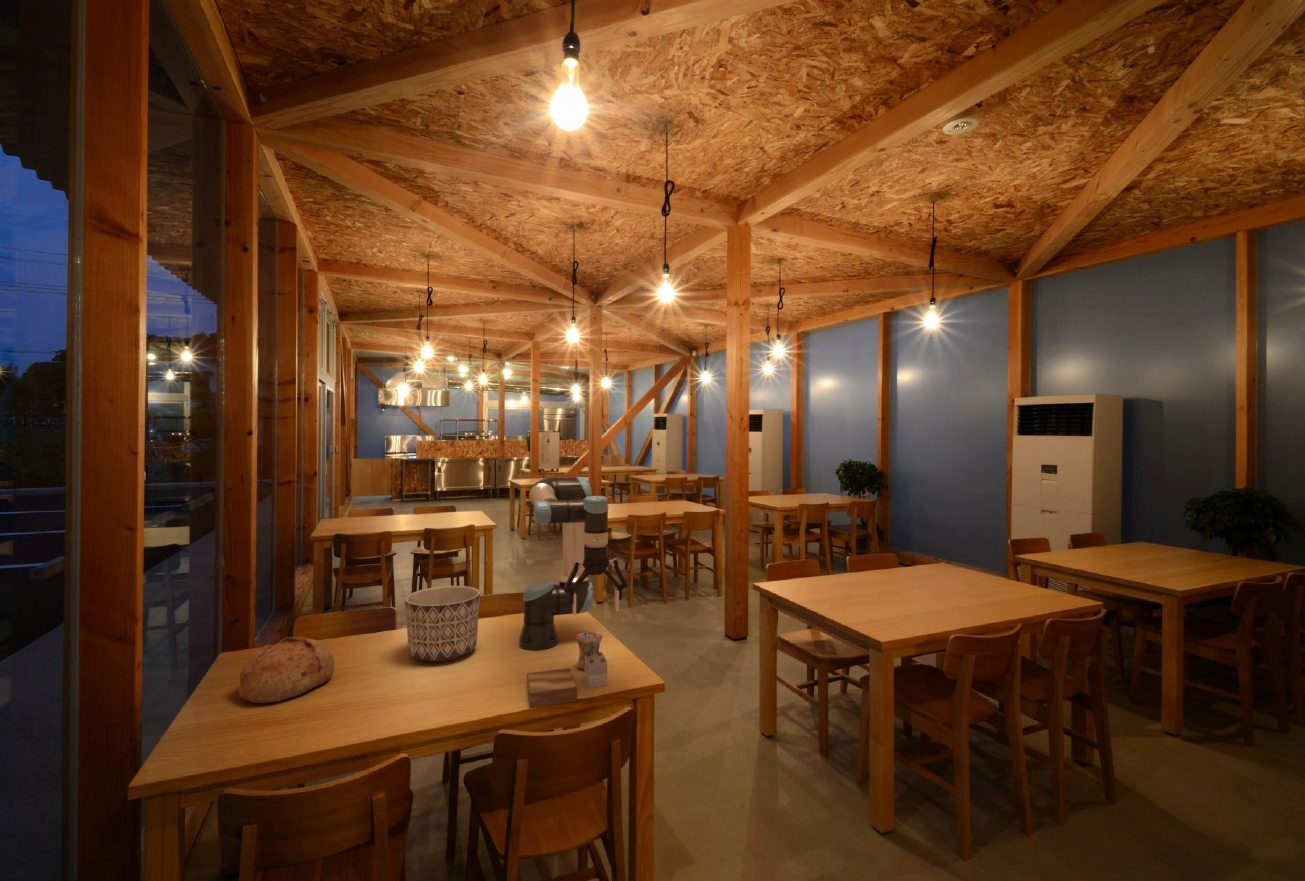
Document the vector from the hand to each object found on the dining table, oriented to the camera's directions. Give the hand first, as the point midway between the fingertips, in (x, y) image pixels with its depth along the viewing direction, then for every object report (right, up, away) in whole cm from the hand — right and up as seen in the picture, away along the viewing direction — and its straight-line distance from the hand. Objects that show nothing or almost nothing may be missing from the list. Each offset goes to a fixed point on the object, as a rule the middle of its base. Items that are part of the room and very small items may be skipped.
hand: (595, 612), depth 176 cm
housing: (-1, -25, +7) cm, 26 cm away
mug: (-5, -25, +20) cm, 33 cm away
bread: (-100, -25, +2) cm, 103 cm away
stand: (-14, -25, -2) cm, 29 cm away
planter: (-60, -25, +30) cm, 71 cm away
